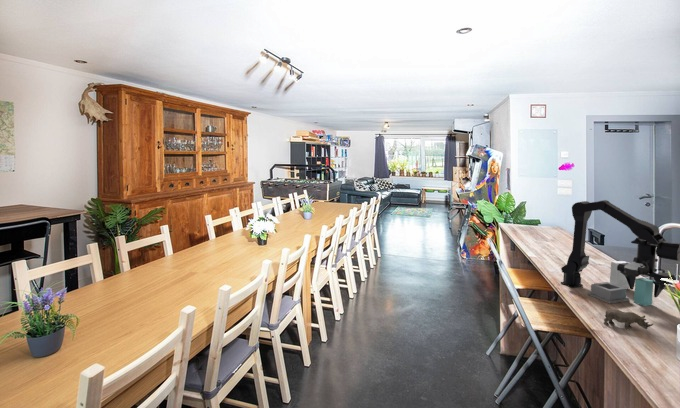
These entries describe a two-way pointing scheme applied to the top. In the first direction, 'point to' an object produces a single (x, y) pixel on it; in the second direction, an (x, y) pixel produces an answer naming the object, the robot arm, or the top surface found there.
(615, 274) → the skincare box
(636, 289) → the teal peg
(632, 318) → the rhino figurine
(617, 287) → the socket block
